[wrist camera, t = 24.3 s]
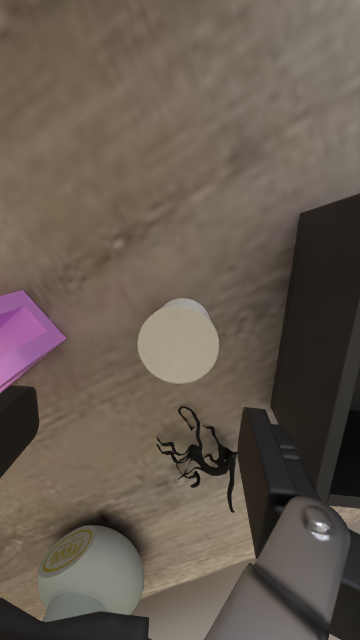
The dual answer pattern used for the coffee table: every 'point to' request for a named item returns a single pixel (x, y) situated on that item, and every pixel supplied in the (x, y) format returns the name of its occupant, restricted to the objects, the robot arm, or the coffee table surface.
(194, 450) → the creature
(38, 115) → the coffee table surface
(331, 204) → the open lidded box
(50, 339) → the bracket
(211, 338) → the coffee pod
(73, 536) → the air freshener
